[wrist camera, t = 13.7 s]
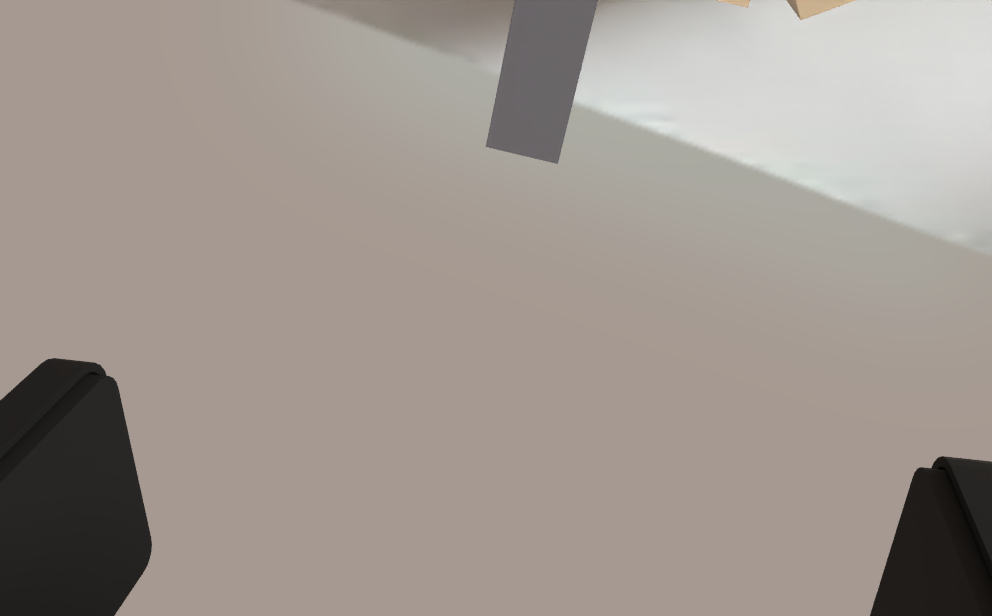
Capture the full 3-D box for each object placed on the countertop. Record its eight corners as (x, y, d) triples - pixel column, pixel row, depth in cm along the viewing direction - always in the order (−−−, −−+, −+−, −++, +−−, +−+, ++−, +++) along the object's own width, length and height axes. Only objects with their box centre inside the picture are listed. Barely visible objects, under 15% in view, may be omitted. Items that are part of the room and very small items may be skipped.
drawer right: (723, -65, 31) (769, 12, 20) (684, 65, 33) (705, 199, 22) (472, -123, 31) (378, -79, 20) (450, 10, 34) (355, 115, 22)
